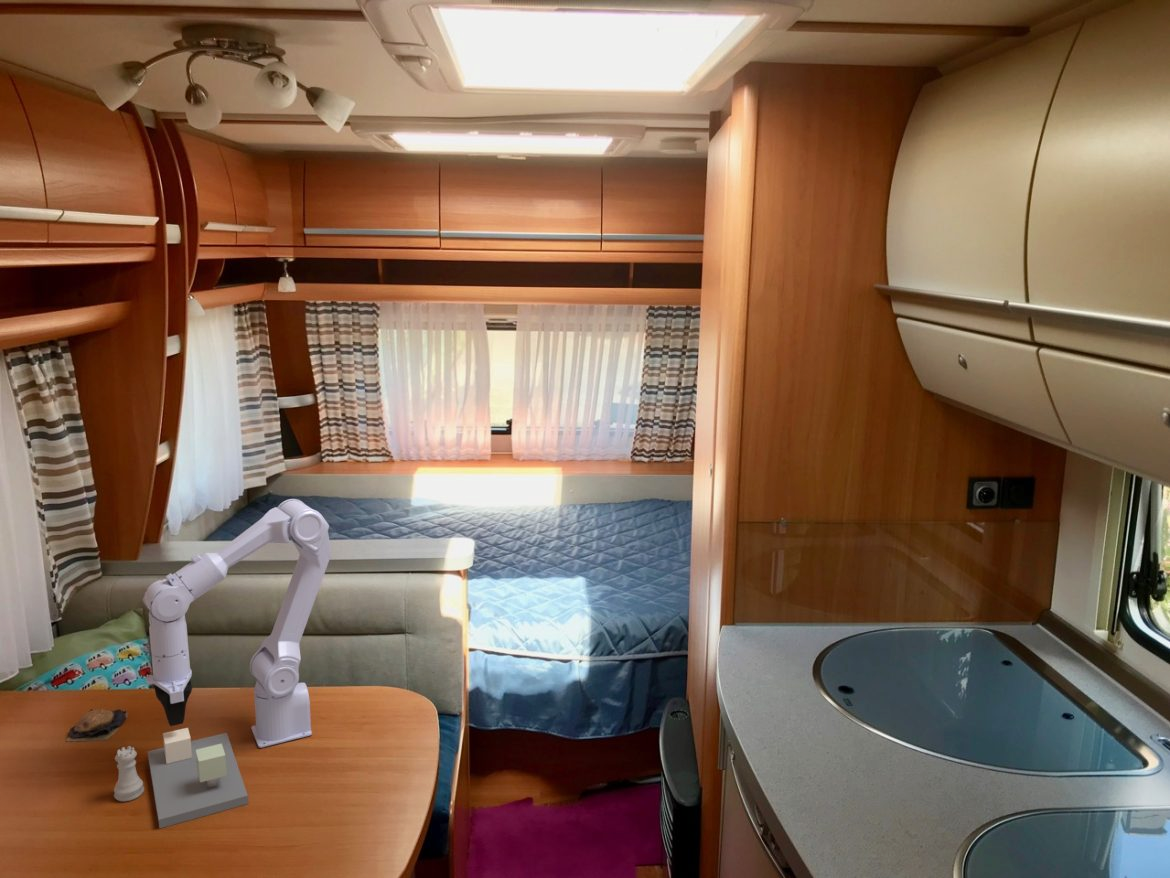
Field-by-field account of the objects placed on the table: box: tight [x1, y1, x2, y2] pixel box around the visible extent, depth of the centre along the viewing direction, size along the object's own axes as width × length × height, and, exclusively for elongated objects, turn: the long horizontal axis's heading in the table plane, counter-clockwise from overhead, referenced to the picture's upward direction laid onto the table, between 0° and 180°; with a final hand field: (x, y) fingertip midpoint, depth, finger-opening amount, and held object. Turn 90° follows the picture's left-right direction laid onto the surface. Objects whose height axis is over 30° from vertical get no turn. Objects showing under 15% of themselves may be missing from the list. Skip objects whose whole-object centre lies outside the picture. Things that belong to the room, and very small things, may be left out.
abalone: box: [66, 708, 129, 743], centre depth 161 cm, size 11×8×4 cm
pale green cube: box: [196, 744, 227, 782], centre depth 141 cm, size 4×4×4 cm
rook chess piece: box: [113, 745, 145, 803], centre depth 140 cm, size 4×4×8 cm
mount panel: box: [147, 732, 249, 829], centre depth 145 cm, size 13×22×4 cm, turn 31°
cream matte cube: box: [162, 727, 192, 764], centre depth 149 cm, size 4×4×4 cm
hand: (176, 723), depth 148 cm, fingers closed
